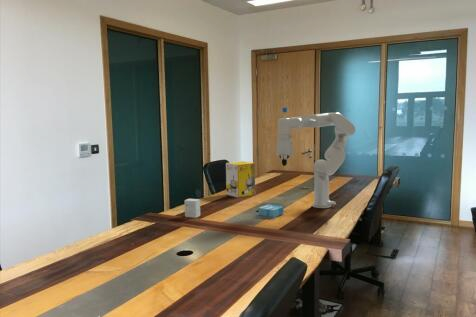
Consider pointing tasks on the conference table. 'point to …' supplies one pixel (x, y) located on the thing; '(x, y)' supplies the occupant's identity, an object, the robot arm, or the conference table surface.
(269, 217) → the felt pad
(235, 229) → the conference table surface
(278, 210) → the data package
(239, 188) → the packaging box
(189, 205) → the small box
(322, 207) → the robot arm
